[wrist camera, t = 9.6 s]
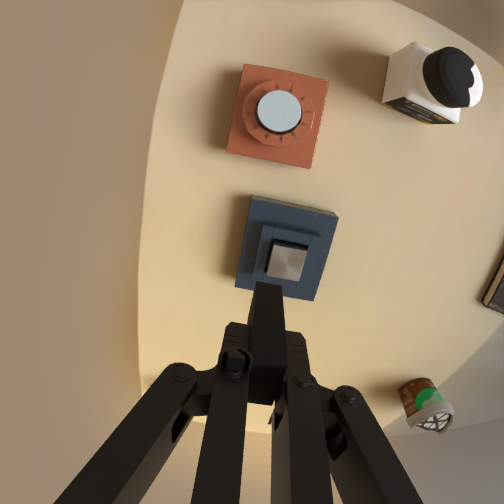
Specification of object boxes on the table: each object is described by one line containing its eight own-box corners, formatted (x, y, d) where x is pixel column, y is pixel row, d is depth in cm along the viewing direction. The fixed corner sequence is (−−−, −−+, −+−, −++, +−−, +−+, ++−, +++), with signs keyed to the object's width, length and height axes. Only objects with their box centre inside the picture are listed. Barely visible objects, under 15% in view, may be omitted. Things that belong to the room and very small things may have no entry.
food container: (447, 382, 44) (465, 416, 35) (426, 401, 46) (441, 436, 37) (416, 365, 42) (437, 405, 33) (393, 388, 44) (409, 428, 35)
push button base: (252, 194, 34) (250, 201, 30) (334, 212, 34) (342, 221, 30) (236, 278, 38) (232, 293, 34) (311, 292, 38) (315, 308, 34)
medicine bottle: (380, 104, 29) (430, 91, 18) (388, 55, 26) (436, 26, 15) (427, 125, 29) (486, 125, 18) (435, 77, 26) (491, 63, 15)
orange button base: (246, 70, 28) (242, 58, 24) (323, 86, 29) (332, 77, 24) (229, 151, 32) (223, 152, 27) (306, 167, 32) (313, 171, 27)
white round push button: (262, 90, 25) (261, 86, 23) (302, 98, 25) (305, 95, 23) (254, 128, 27) (253, 126, 25) (294, 136, 27) (296, 135, 25)
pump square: (273, 239, 32) (273, 244, 30) (305, 245, 32) (307, 251, 30) (266, 269, 33) (266, 275, 31) (297, 274, 33) (298, 281, 31)
